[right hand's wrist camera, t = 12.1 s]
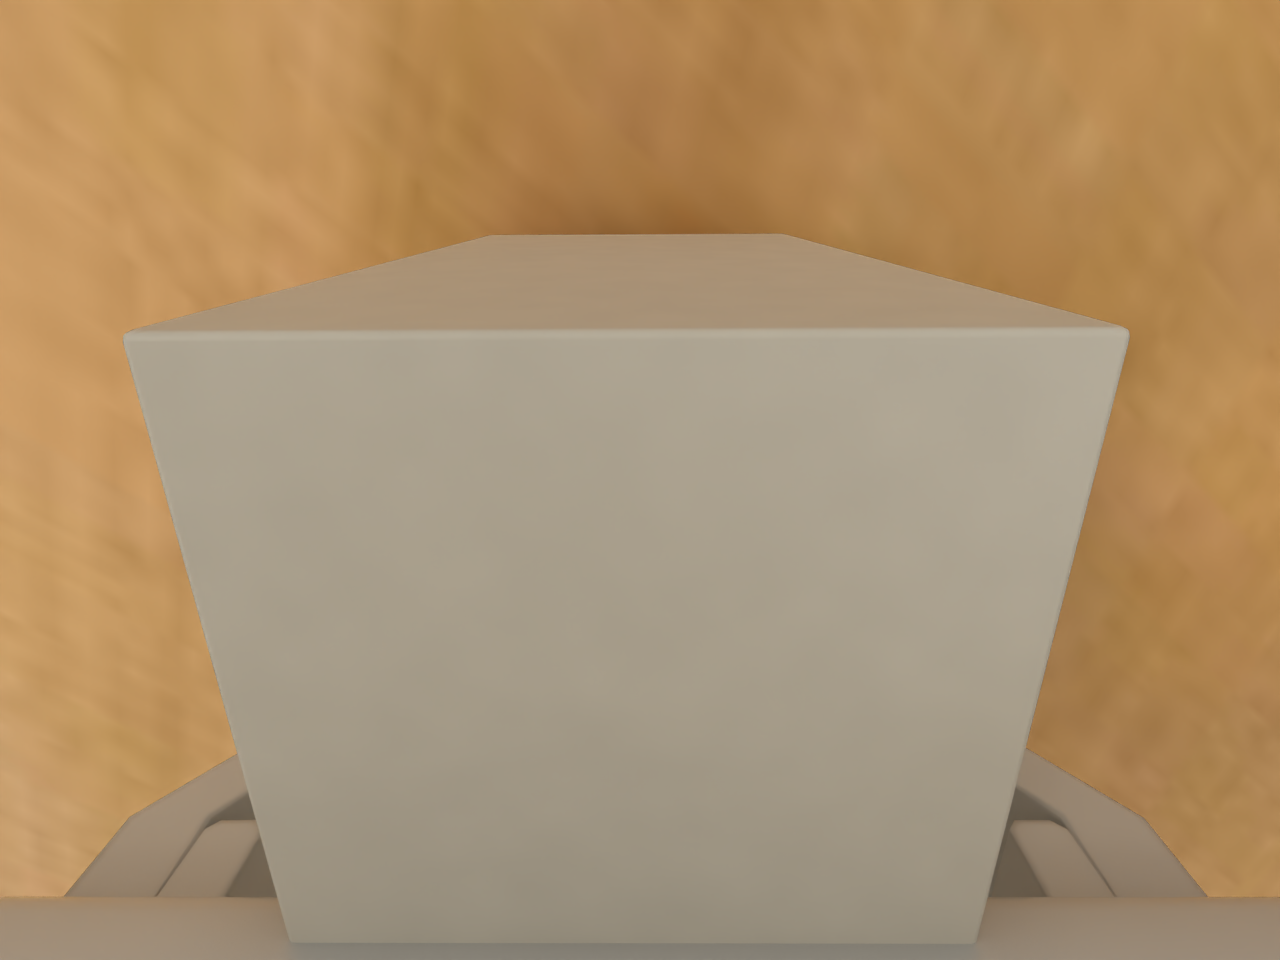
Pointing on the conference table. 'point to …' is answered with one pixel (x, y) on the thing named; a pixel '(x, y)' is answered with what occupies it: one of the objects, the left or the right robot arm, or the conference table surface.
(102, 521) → the conference table surface
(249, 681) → the bar
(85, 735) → the conference table surface
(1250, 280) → the conference table surface
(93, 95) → the conference table surface
